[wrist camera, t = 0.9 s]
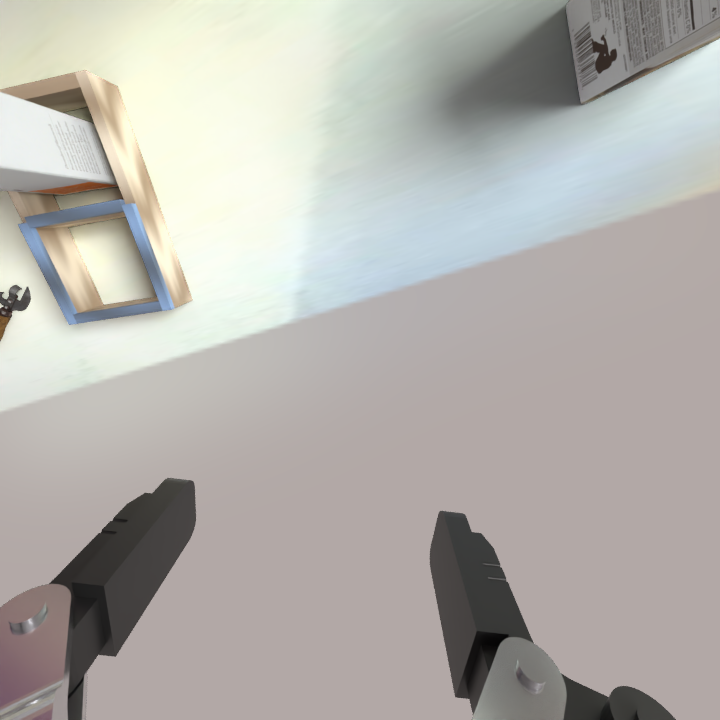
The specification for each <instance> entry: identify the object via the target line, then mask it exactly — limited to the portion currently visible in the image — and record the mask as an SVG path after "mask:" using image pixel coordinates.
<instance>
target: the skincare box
mask: <svg viewBox="0 0 720 720" xmlns="http://www.w3.org/2000/svg"><path fill="white" fill-rule="evenodd" d="M111 187H118V183H117V181H116V178H115V176H114V173H113V170H112V168H111V165H110V163H109V160H108V157H107V155H106V152H105V150H104V147H103V144H102V142H101V139H100V137H99V134H98V131H97V129H96V126H95V124H94V123H91V122H88V121H85V120H82V119H79V118H76V117H73V116H70V115H67V114H65V113H62V112H59V111H56V110H53V109H50V108H47V107H44V106H41V105H38V104H35V103H33V102H30V101H26V100H24V99H21V98H18V97H15V96H12V95H9V94H6V93H3V92H0V190H2V191H17V192H30V193H42V194H55V195H67V194H71V193H77V192H83V191H89V190H95V189H103V188H111Z"/></svg>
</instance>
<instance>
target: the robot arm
mask: <svg viewBox="0 0 720 720" xmlns="http://www.w3.org/2000/svg"><path fill="white" fill-rule="evenodd" d="M195 522H196V509H195V486H194V482H193V481H191V480H182V479H174V478H167V479H165V480H164V481H163V482H162V483H161V484H160V486H159V487H158V488H157V489H156V490H155V491H154V492H153V493H152V494H151V493H144V494H143V495H141V496H140V497H138V498H136V499H135V500H133V501H131V502H130V503H128V504H127V505H126V506H125V507H124V508H123V509H122V510H121V511H120V512H119V513H118V514H117V515H116V516H115V517H114V519H113V521H110V522H109V523H108V524H107V525H106V527H104V528H103V529H102V532H101V533H99V534H98V535H97V536H96V537H95V538H94V539H93V540H92V541H91V542H90V543H89V544H88V545H87V546H86V547H85V548H84V549H83V550H82V551H81V552H80V553H79V554H78V555H77V556H76V557H75V558H74V559H73V560H72V561H71V562H70V563H69V564H68V565H67V566H66V567H65V568H64V569H63V570H62V572H61V573H60V574H59V575H58V576H57V577H56V578H55V579H54V580H53V581H52V582H51V583H50V584H47V585H42V586H38V587H35V588H32V589H30V590H27V591H25V592H23V593H21V594H19V595H17V596H16V597H14V598H12V599H11V600H9V601H8V602H7V603H5V604H4V605H3V606H2V607H0V720H86V703H87V702H86V701H87V678H88V677H87V670H88V669H89V667H90V666H91V665H92V663H93V662H94V660H95V659H96V657H97V656H98V655H107V656H116V655H117V653H118V652H119V650H120V649H121V647H122V645H123V644H124V642H125V641H126V639H127V638H128V636H129V635H130V633H131V631H132V630H133V628H134V627H135V625H136V623H137V622H138V620H139V619H140V617H141V616H142V614H143V612H144V611H145V609H146V608H147V606H148V605H149V603H150V601H151V600H152V598H153V597H154V595H155V593H156V592H157V590H158V589H159V587H160V585H161V584H162V582H163V581H164V579H165V578H166V576H167V574H168V573H169V571H170V570H171V568H172V567H173V565H174V563H175V562H176V560H177V559H178V557H179V555H180V554H181V552H182V551H183V549H184V548H185V546H186V544H187V543H188V541H189V540H190V538H191V536H192V533H193V530H194V527H195ZM430 567H431V573H432V578H433V584H434V589H435V594H436V599H437V604H438V609H439V615H440V620H441V625H442V630H443V636H444V641H445V646H446V651H447V656H448V661H449V667H450V671H451V677H452V683H453V688H454V693H455V697H458V698H468V699H470V703H471V708H472V712H473V718H472V720H676V719H675V718H673V716H672V715H671V714H670V713H669V712H668V711H667V710H666V709H665V708H664V707H663V706H662V705H661V704H659V703H658V702H657V701H656V700H654V699H653V698H651V697H650V696H648V695H647V694H645V693H643V692H641V691H640V690H637V689H635V688H632V687H627V686H620V687H617V688H615V689H614V690H613V691H612V692H611V695H610V696H609V697H607V696H605V695H602V694H600V693H598V692H596V691H594V690H592V689H590V688H588V687H585V686H583V685H581V684H579V683H577V682H575V681H573V680H571V679H569V678H567V677H566V676H564V675H563V674H561V673H560V671H559V669H558V668H557V666H556V665H555V663H554V662H553V660H552V659H551V658H550V657H549V656H548V655H547V654H546V653H545V652H544V651H543V650H542V649H541V648H539V647H538V646H537V645H535V644H534V643H533V641H532V639H531V636H530V634H529V632H528V629H527V627H526V625H525V622H524V620H523V618H522V615H521V613H520V610H519V608H518V606H517V603H516V601H515V598H514V596H513V594H512V591H511V589H510V587H509V584H508V582H506V577H505V575H504V572H503V570H502V568H501V567H500V563H499V561H498V558H497V555H496V553H495V551H494V548H493V547H492V546H491V545H490V544H489V542H488V541H487V540H486V539H485V537H484V536H483V535H482V534H481V533H474V532H471V529H470V526H469V524H468V521H467V518H466V516H465V515H464V514H462V513H454V512H446V511H440V512H439V514H438V518H437V523H436V527H435V531H434V535H433V540H432V544H431V549H430Z"/></svg>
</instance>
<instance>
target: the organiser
mask: <svg viewBox="0 0 720 720" xmlns="http://www.w3.org/2000/svg"><path fill="white" fill-rule="evenodd" d="M0 92H3V93H6V94H9V95H12V96H15V97H18V98H21V99H24V100H26V101H30V102H33V103H35V104H38V105H41V106H44V107H47V108H50V109H53V110H56V111H59V112H67V111H72V110H76V109H81V108H85V107H88V108H89V111H90V113H91V116H92V119H93V121H94V124H95V126H96V129H97V131H98V134H99V137H100V139H101V142H102V144H103V147H104V150H105V152H106V155H107V157H108V160H109V163H110V165H111V168H112V170H113V173H114V176H115V178H116V181H117V183H118V186H119V188H120V191H121V194H122V196H123V199H124V200H121V199H118V200H113V201H108V202H102V203H97V204H92V205H86V206H81V207H75V208H70V209H65V210H60V209H59V206H58V204H57V202H56V200H55V198H54V196H53V194H42V193H30V192H17V191H8V193H9V195H10V197H11V199H12V201H13V203H14V205H15V207H16V209H17V211H18V213H19V215H20V217H21V219H22V221H23V223H22V224H18V226H19V228H20V230H21V232H22V234H23V236H24V238H25V240H26V241H27V243H28V245H29V247H30V249H31V251H32V253H33V255H34V257H35V259H36V261H37V263H38V265H39V267H40V269H41V271H42V273H43V275H44V277H45V279H46V281H47V283H48V285H49V287H50V288H51V290H52V292H53V294H54V296H55V298H56V300H57V302H58V304H59V306H60V308H61V310H62V312H63V314H64V316H65V318H66V320H67V322H68V324H69V325H71V324H78V323H84V322H91V321H98V320H104V319H111V318H118V317H125V316H131V315H138V314H145V313H151V312H158V311H165V310H172V309H174V308H176V307H178V306H181V305H183V304H185V303H187V302H190V301H192V297H191V294H190V291H189V289H188V286H187V283H186V280H185V277H184V274H183V271H182V269H181V266H180V263H179V260H178V257H177V254H176V251H175V249H174V246H173V243H172V240H171V237H170V234H169V232H168V229H167V226H166V223H165V220H164V217H163V214H162V212H161V209H160V206H159V203H158V200H157V197H156V194H155V192H154V189H153V186H152V183H151V180H150V177H149V175H148V172H147V169H146V166H145V163H144V160H143V157H142V155H141V152H140V149H139V146H138V143H137V140H136V138H135V135H134V132H133V129H132V126H131V123H130V120H129V118H128V115H127V112H126V109H125V106H124V103H123V100H122V98H121V95H120V92H119V89H118V86H116V85H114V84H112V83H110V82H108V81H106V80H104V79H102V78H100V77H98V76H96V75H94V74H92V73H91V72H89V71H87V70H83V71H78V72H74V73H70V74H65V75H61V76H57V77H53V78H48V79H44V80H40V81H35V82H31V83H27V84H22V85H18V86H14V87H9V88H5V89H1V90H0ZM122 217H126V218H127V221H128V223H129V226H130V228H131V231H132V233H133V236H134V239H135V241H136V244H137V246H138V249H139V251H140V254H141V256H142V259H143V262H144V264H145V267H146V269H147V272H148V274H149V277H150V280H151V282H152V285H153V287H154V290H155V292H156V295H157V297H153V298H146V299H140V300H133V301H127V302H120V303H114V304H107V305H103V303H102V300H101V298H100V296H99V294H98V292H97V290H96V287H95V285H94V283H93V281H92V279H91V276H90V274H89V272H88V270H87V268H86V265H85V263H84V261H83V259H82V257H81V255H80V252H79V250H78V248H77V246H76V244H75V241H74V239H73V237H72V235H71V233H70V231H69V228H68V227H72V226H78V225H83V224H89V223H94V222H100V221H105V220H111V219H116V218H122Z"/></svg>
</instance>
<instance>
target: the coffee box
mask: <svg viewBox="0 0 720 720" xmlns="http://www.w3.org/2000/svg"><path fill="white" fill-rule="evenodd" d="M566 13H567V20H568V26H569V33H570V39H571V46H572V52H573V59H574V65H575V72H576V78H577V85H578V91H579V97H580V102H581V104H587V103H589V102H591V101H594V100H596V99H598V98H600V97H602V96H604V95H606V94H608V93H610V92H612V91H614V90H616V89H618V88H620V87H622V86H624V85H627V84H629V83H631V82H633V81H635V80H637V79H639V78H641V77H643V76H645V75H647V74H649V73H651V72H653V71H655V70H657V69H659V68H661V67H663V66H665V65H667V64H670V63H672V62H673V61H675V60H678V59H680V58H682V57H684V56H686V55H687V54H689V53H691V52H693V51H695V50H697V49H699V48H701V47H703V46H705V45H707V44H709V43H712V42H714V41H716V40H718V39H720V0H570V1H569V2H568V3H567V5H566Z"/></svg>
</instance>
